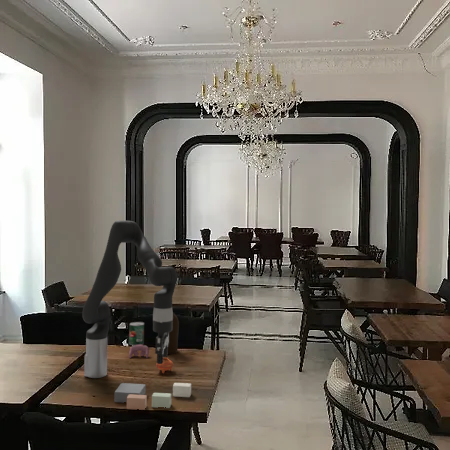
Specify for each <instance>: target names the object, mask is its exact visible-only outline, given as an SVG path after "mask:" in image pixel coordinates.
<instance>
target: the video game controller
mask: <svg viewBox="0 0 450 450" xmlns="http://www.w3.org/2000/svg"><path fill="white" fill-rule="evenodd" d="M139 352H140V353H139ZM133 355H134V357H138V356H139V355H140V356H141V357H145V358H146V359H148V358H149V355H150V348H149V346H147V345H145V344H142V345H131V347H130V348H129V354H128V357H129V359H131V358H132V356H133Z"/></svg>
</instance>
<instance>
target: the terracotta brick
mask: <svg viewBox="0 0 450 450" xmlns="http://www.w3.org/2000/svg"><path fill="white" fill-rule="evenodd" d="M147 406H148V395H147V394H145V395H134V394H129V395H128V397H127V403H126V410H137V409H139V410H141V411H143V410H144V411H145V410H146V409H147ZM145 408H146V409H145Z"/></svg>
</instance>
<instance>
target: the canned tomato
mask: <svg viewBox="0 0 450 450" xmlns="http://www.w3.org/2000/svg"><path fill="white" fill-rule="evenodd" d="M128 334H129V337H128V338H129V340H128V341H129V343H128V344H129V345H131V346H134V345H145V344H144V343H145V322H143V321H134V322H133V321H132V322H130V323H129V333H128Z"/></svg>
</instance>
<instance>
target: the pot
mask: <svg viewBox="0 0 450 450" xmlns="http://www.w3.org/2000/svg"><path fill="white" fill-rule="evenodd" d="M155 366H156V368H157V369H158V370H159V371H161V372H162V374H165V371H166V372H167V371H170V372H171V371H172V369H173V367H174V362H173V361H172V360H170V359H169V358H168V357H163V363H162V364H157V362H156V364H155Z"/></svg>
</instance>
